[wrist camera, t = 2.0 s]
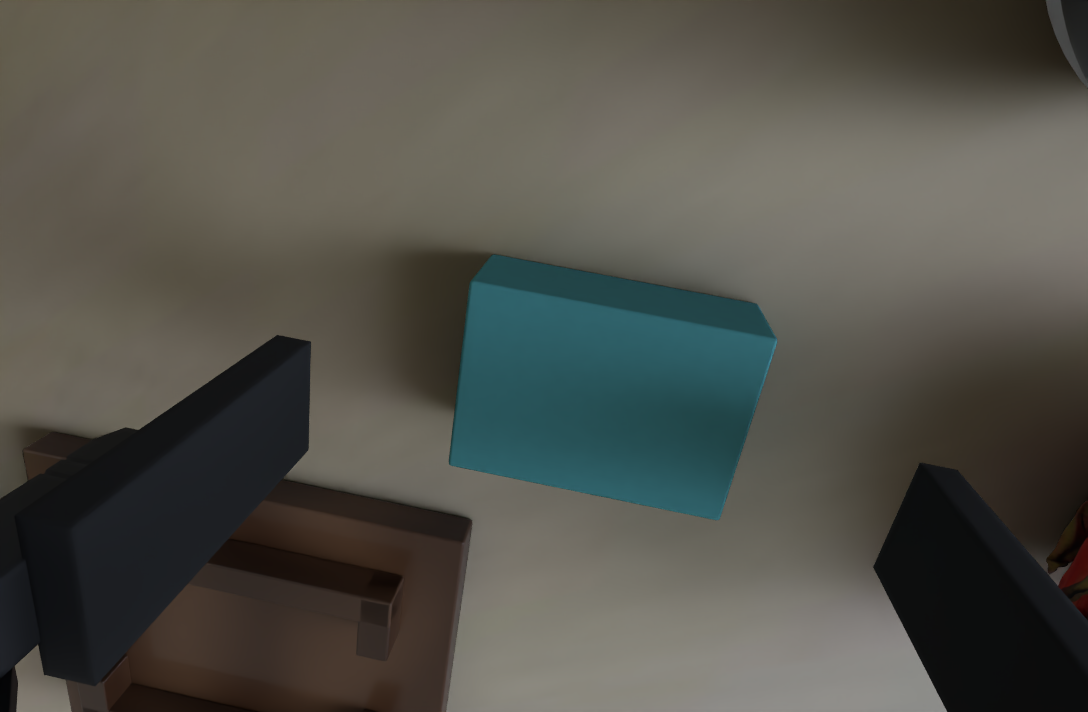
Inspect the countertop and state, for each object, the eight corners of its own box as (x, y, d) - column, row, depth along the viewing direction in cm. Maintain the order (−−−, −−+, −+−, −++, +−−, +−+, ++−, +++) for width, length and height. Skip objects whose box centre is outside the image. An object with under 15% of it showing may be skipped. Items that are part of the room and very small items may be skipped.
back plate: (95, 690, 26) (45, 746, 24) (51, 430, 21) (-16, 470, 19) (438, 769, 25) (419, 834, 23) (473, 518, 21) (454, 570, 18)
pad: (470, 418, 19) (447, 466, 17) (491, 253, 17) (468, 280, 15) (708, 466, 19) (719, 522, 16) (758, 303, 17) (779, 339, 14)
